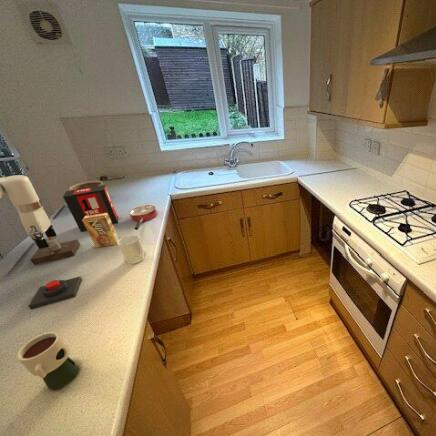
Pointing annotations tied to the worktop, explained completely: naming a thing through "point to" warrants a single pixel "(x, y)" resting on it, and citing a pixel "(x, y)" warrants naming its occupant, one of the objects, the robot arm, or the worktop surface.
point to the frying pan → (142, 214)
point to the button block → (56, 293)
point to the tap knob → (53, 244)
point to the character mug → (48, 360)
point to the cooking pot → (86, 185)
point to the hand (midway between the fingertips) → (48, 242)
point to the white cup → (131, 248)
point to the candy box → (100, 230)
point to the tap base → (55, 253)
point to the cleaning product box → (89, 204)
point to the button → (52, 285)
